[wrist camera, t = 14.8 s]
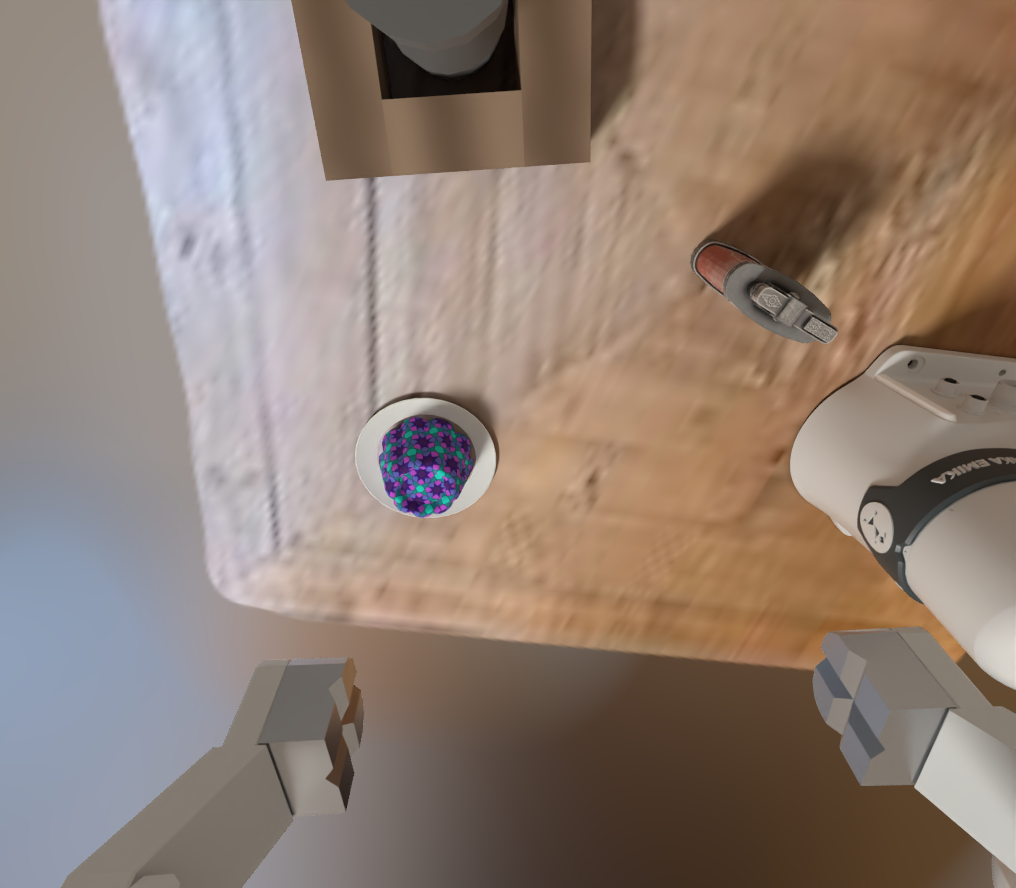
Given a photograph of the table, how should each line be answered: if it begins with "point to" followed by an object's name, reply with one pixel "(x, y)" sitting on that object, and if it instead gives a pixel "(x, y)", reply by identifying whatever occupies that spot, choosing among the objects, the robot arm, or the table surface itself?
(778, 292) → the lighter
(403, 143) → the walnut collar
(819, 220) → the table surface
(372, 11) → the candle holder
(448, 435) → the pudding
